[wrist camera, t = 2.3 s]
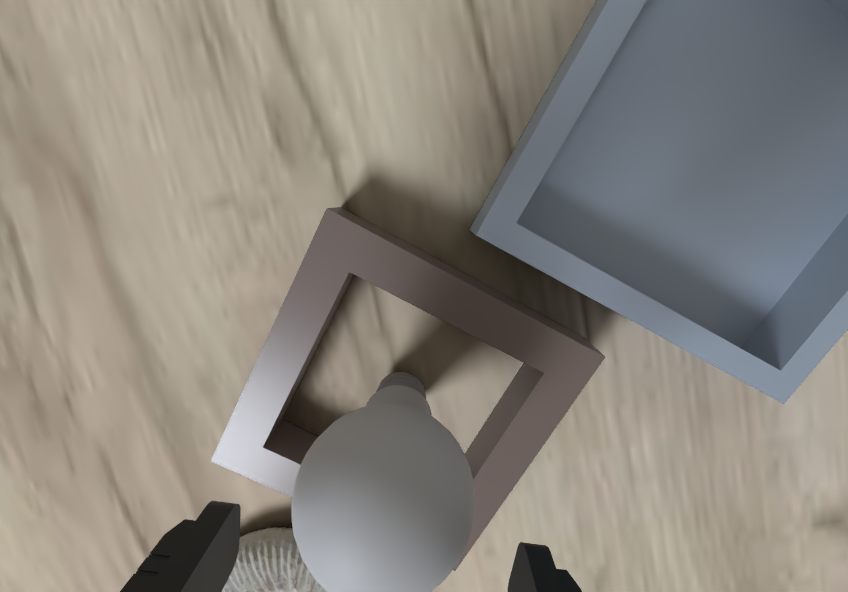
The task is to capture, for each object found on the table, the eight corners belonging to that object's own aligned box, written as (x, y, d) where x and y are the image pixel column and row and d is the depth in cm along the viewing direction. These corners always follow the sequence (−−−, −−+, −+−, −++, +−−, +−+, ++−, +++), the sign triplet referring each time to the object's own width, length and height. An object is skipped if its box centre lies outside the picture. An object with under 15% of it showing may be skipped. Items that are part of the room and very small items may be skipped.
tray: (972, 77, 17) (1085, 51, 14) (733, 374, 20) (783, 404, 18) (670, -133, 15) (726, -210, 12) (469, 229, 19) (475, 235, 16)
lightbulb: (348, 328, 20) (255, 472, 10) (465, 338, 20) (501, 493, 10) (344, 431, 22) (260, 655, 11) (453, 441, 22) (472, 673, 11)
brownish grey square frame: (584, 337, 20) (605, 356, 18) (452, 532, 23) (455, 570, 21) (340, 207, 19) (326, 208, 16) (235, 431, 22) (210, 461, 19)
